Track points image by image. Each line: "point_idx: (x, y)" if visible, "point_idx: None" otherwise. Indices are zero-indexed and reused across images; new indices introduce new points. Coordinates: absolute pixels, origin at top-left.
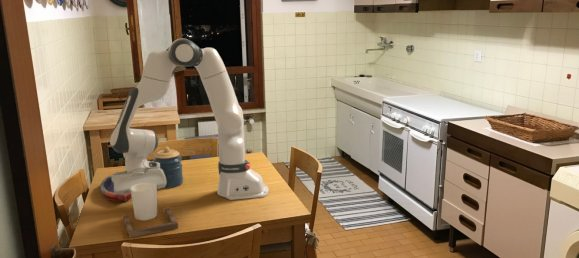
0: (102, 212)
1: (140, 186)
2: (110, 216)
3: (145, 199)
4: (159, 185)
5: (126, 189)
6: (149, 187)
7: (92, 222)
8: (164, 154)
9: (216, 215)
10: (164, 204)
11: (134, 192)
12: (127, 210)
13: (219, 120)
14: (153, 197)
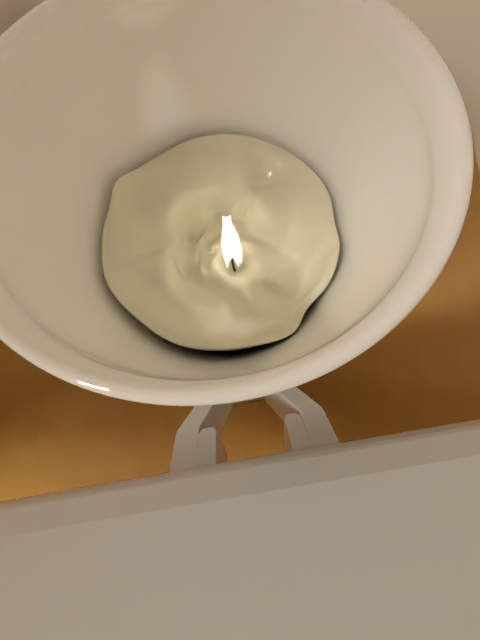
0: (455, 414)
1: (265, 366)
2: (399, 347)
3: (209, 133)
4: (9, 503)
5: (473, 428)
6: (130, 352)
7: (468, 301)
8: None
9: None
10: (141, 424)
11: (341, 13)
12: (327, 400)
13: None
14: (138, 169)
